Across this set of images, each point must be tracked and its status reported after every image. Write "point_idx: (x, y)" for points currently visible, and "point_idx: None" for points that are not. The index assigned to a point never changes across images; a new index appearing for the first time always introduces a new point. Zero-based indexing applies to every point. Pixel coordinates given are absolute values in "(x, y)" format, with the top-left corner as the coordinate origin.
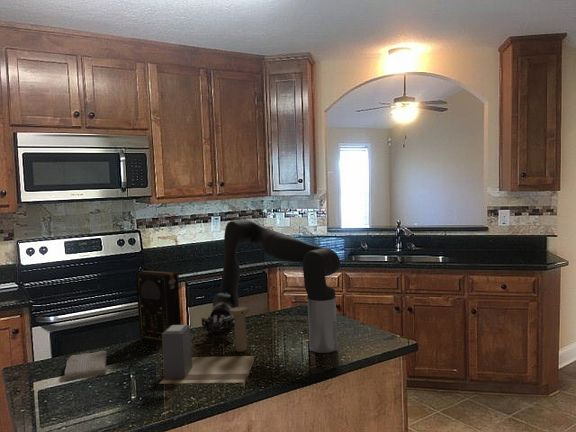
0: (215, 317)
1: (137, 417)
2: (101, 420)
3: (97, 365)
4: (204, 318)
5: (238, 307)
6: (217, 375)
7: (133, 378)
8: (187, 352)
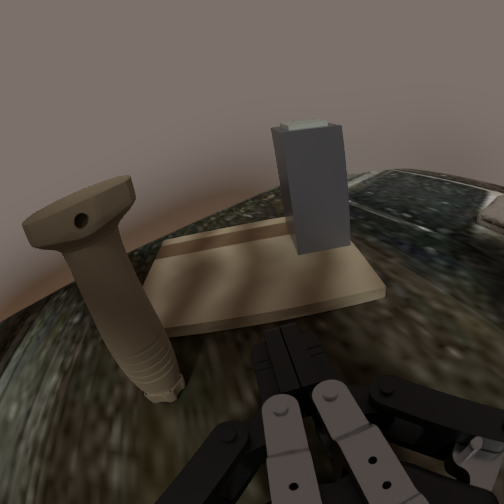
0: (378, 471)
1: None
2: None
3: (497, 211)
4: (499, 433)
5: (67, 205)
6: (217, 244)
7: (408, 224)
8: (284, 190)
